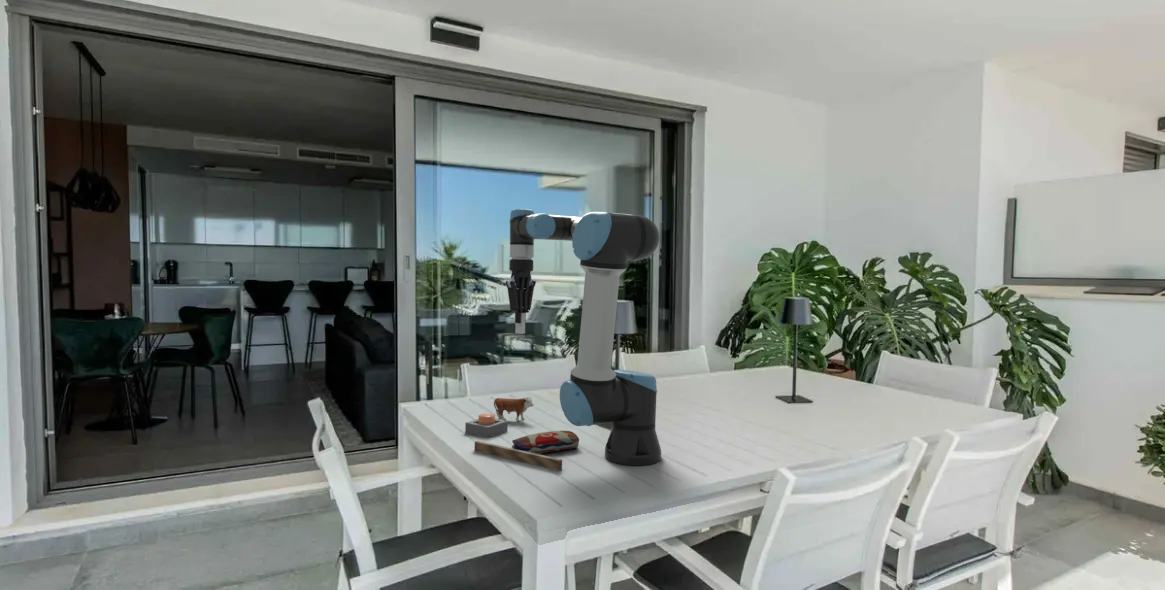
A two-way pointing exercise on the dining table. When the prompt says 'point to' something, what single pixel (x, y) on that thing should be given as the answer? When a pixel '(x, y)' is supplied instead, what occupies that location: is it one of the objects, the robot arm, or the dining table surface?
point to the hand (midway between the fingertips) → (520, 333)
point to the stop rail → (519, 455)
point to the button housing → (486, 428)
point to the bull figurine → (512, 406)
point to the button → (486, 419)
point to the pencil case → (546, 442)
